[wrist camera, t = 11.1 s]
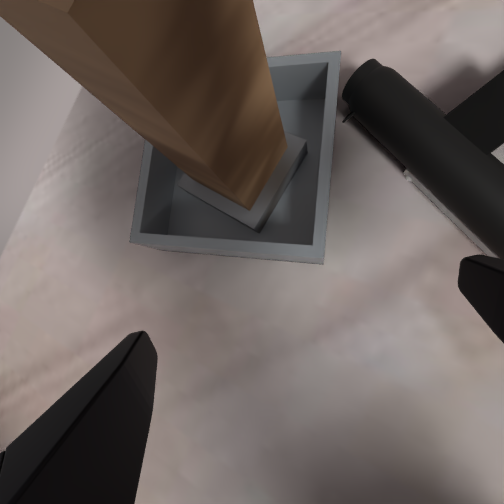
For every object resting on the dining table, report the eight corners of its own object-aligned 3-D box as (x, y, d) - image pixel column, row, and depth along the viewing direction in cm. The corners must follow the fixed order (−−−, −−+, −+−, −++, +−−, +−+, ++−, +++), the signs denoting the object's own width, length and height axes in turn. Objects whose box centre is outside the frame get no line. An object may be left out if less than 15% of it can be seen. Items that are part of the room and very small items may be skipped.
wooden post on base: (259, 233, 18) (74, 69, 5) (187, 192, 20) (-108, -19, 6) (307, 152, 18) (265, -262, 4) (231, 117, 20) (30, -263, 6)
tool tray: (323, 264, 17) (324, 258, 14) (162, 250, 20) (129, 242, 17) (337, 95, 19) (341, 50, 15) (183, 103, 21) (156, 67, 18)
